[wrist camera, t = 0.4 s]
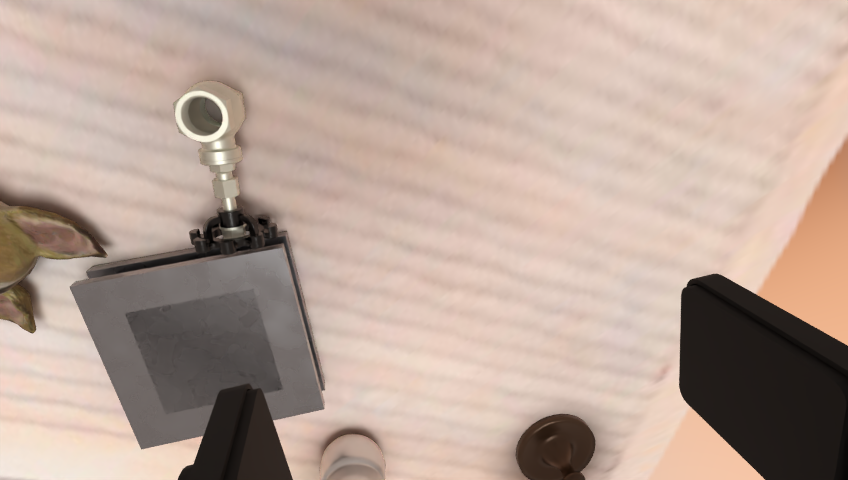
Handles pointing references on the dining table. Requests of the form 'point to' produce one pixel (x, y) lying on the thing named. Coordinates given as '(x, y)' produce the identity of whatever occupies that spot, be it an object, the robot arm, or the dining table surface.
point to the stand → (201, 335)
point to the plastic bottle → (352, 459)
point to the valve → (221, 167)
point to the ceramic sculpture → (34, 254)
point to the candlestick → (555, 448)
